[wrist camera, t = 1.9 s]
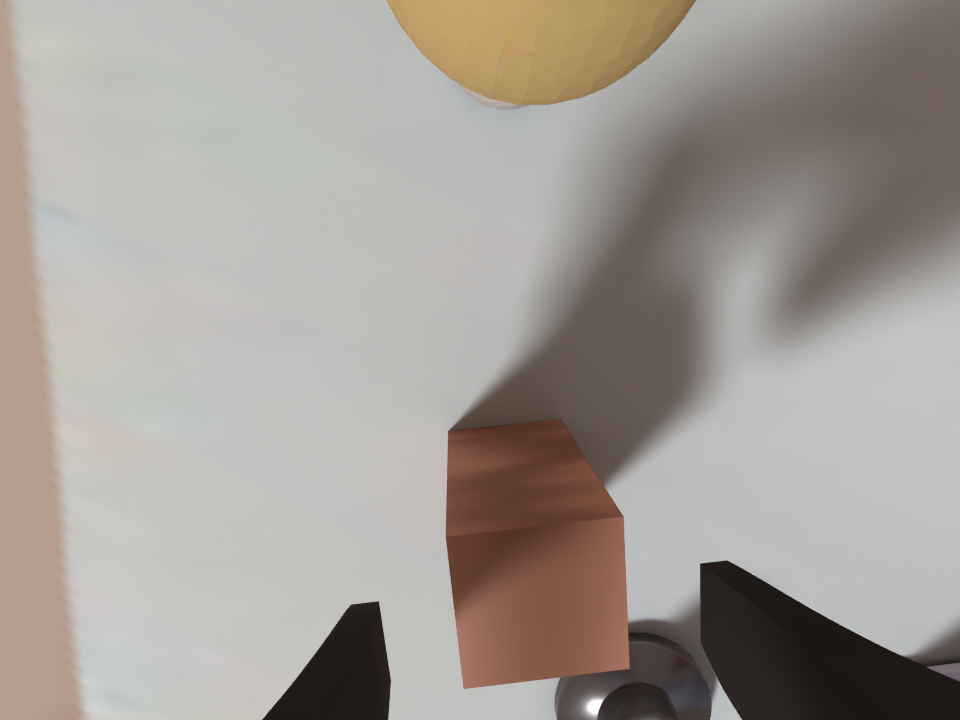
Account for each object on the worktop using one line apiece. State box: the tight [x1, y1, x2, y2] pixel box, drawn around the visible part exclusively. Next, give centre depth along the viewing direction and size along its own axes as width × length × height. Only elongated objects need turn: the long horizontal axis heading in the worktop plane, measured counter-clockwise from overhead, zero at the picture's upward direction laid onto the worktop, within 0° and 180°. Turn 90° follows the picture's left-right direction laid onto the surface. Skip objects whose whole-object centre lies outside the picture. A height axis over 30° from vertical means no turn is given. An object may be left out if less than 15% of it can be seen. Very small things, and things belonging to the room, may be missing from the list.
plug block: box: [446, 419, 630, 689], centre depth 16 cm, size 4×4×7 cm
